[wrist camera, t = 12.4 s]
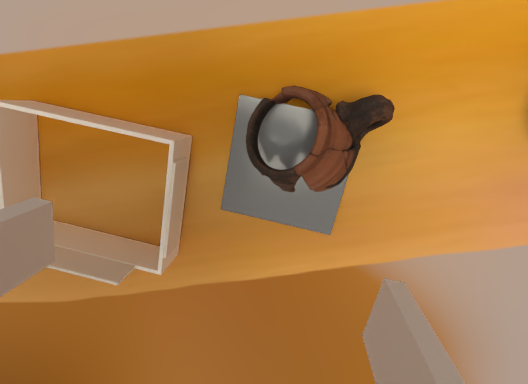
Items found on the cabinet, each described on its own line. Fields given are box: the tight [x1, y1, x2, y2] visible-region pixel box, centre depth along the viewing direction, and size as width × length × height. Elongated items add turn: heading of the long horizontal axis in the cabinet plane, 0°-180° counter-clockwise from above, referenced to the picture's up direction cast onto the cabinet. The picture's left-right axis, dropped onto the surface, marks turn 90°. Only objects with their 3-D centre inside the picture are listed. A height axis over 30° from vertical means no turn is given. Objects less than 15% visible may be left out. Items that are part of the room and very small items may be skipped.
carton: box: [0, 100, 192, 285], centre depth 28 cm, size 18×14×7 cm
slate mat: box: [221, 95, 352, 235], centre depth 29 cm, size 12×12×1 cm
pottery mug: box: [246, 86, 394, 192], centre depth 25 cm, size 12×9×8 cm
